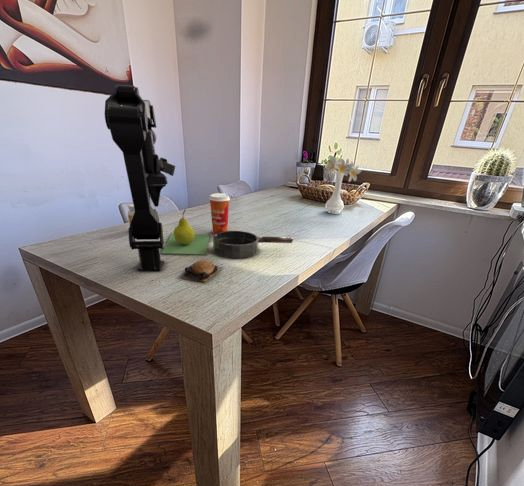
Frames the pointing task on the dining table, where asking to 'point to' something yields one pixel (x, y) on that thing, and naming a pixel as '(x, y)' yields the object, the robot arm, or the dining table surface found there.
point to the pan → (235, 244)
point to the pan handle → (274, 239)
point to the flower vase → (339, 182)
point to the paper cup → (219, 212)
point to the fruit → (184, 232)
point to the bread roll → (200, 271)
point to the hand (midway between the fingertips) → (152, 203)
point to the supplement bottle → (130, 212)
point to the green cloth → (187, 246)
